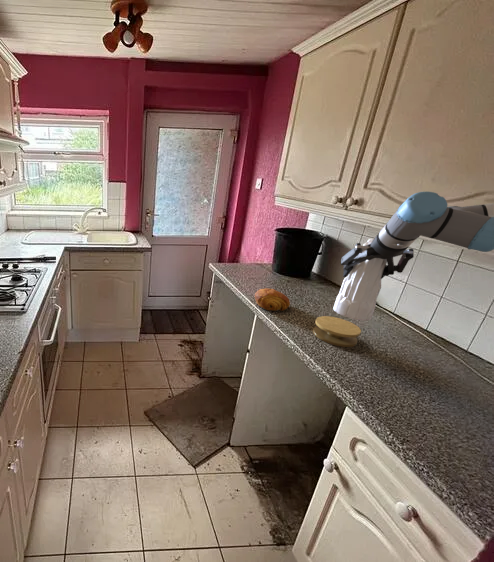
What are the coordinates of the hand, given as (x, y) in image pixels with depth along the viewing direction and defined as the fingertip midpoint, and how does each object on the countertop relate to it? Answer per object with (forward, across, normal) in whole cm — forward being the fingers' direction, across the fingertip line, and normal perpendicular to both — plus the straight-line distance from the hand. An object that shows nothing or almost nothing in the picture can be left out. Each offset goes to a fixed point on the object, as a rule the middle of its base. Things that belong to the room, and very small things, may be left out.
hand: (360, 275), depth 104 cm
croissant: (+34, -23, -2) cm, 41 cm away
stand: (+20, -1, -16) cm, 26 cm away
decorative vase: (+7, 0, -11) cm, 13 cm away
